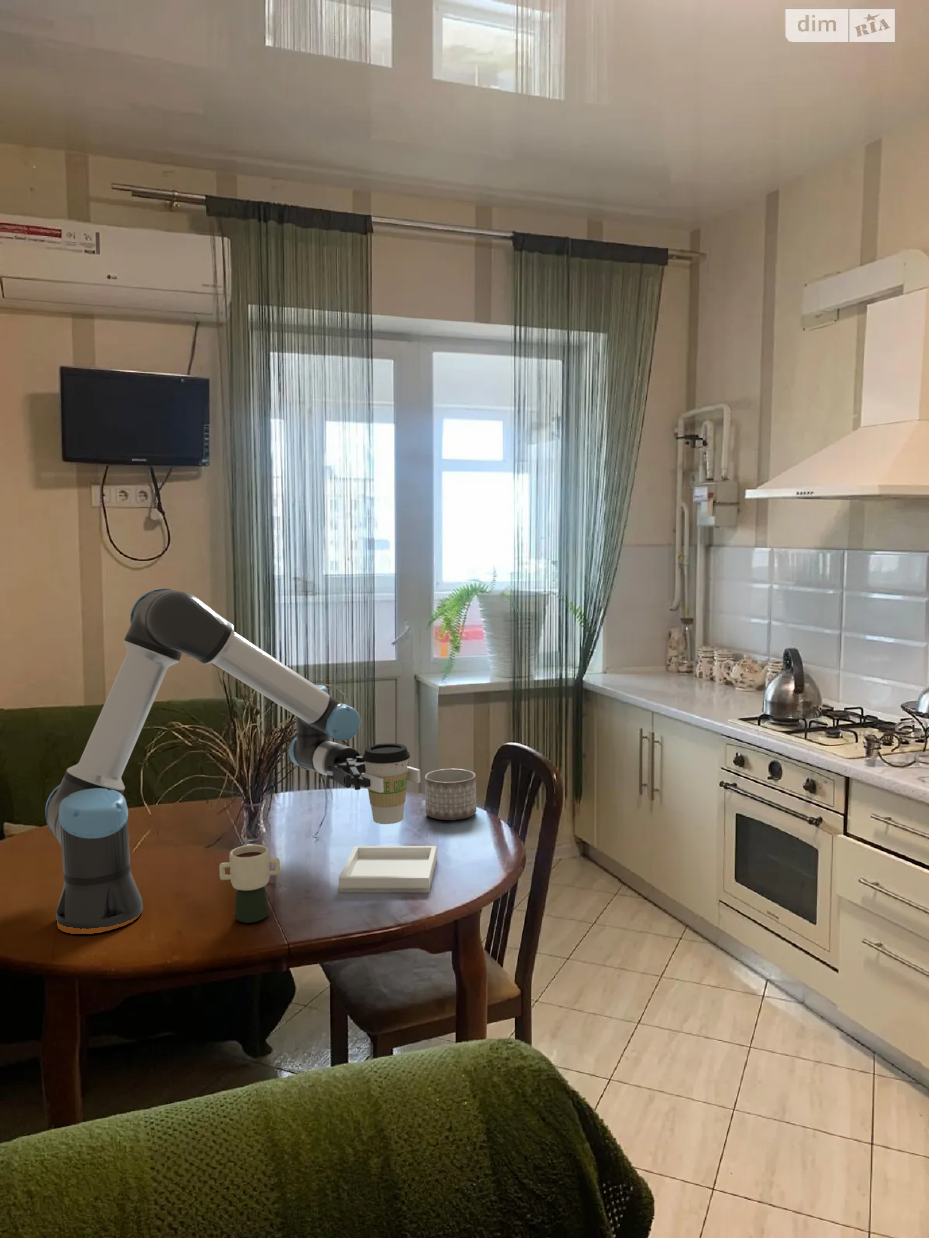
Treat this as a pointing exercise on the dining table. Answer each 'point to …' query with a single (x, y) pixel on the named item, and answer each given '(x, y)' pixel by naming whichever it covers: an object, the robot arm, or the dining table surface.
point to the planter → (450, 794)
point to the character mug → (250, 880)
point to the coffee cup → (388, 780)
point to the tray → (389, 869)
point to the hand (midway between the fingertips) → (400, 781)
